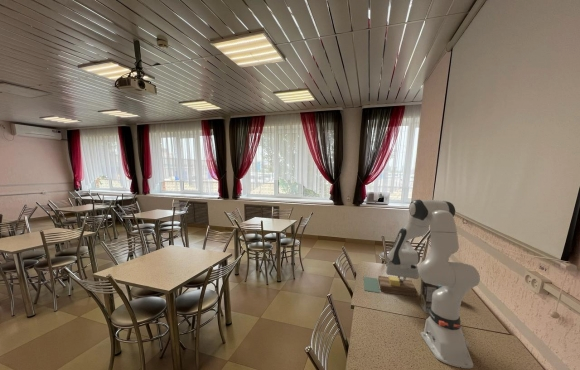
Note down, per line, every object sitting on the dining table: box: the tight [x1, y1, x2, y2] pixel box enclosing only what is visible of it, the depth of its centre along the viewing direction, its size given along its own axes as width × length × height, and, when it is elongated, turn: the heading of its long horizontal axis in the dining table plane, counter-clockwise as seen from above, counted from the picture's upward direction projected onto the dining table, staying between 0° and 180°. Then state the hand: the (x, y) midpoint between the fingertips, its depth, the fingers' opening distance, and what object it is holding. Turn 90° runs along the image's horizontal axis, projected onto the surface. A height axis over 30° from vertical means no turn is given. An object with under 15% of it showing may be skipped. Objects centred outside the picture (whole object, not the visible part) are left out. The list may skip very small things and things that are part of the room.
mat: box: [363, 275, 381, 294], centre depth 157 cm, size 20×10×1 cm, turn 164°
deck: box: [377, 275, 418, 298], centre depth 152 cm, size 14×22×4 cm, turn 74°
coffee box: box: [419, 278, 439, 315], centre depth 130 cm, size 9×6×16 cm
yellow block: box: [388, 275, 400, 286], centre depth 153 cm, size 9×6×2 cm, turn 163°
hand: (401, 282), depth 151 cm, fingers closed
